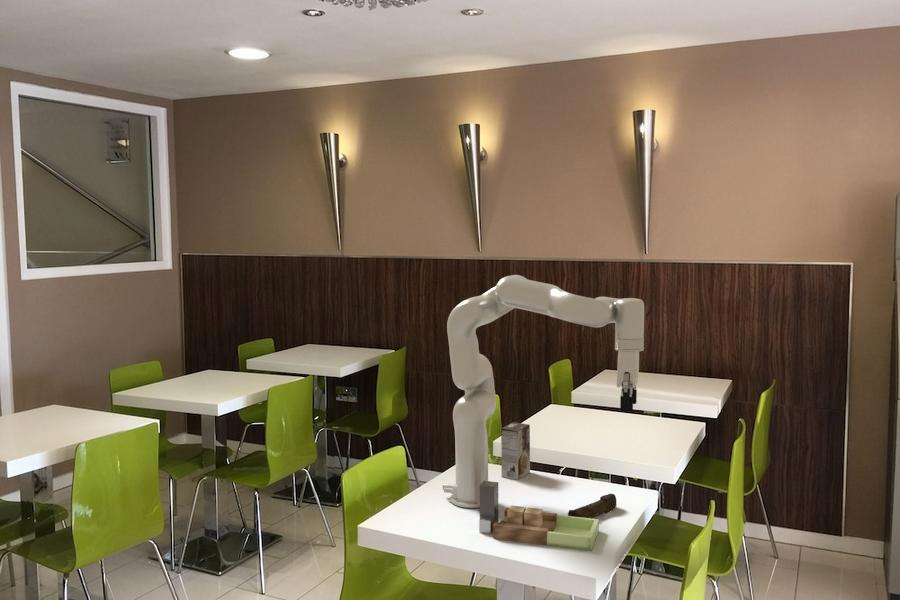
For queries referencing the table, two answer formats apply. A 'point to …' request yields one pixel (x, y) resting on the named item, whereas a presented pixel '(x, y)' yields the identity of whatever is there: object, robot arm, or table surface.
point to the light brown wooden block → (533, 517)
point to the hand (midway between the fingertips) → (628, 407)
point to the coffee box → (515, 450)
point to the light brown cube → (515, 515)
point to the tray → (574, 532)
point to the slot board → (525, 530)
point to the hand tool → (595, 507)
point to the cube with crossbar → (488, 506)
